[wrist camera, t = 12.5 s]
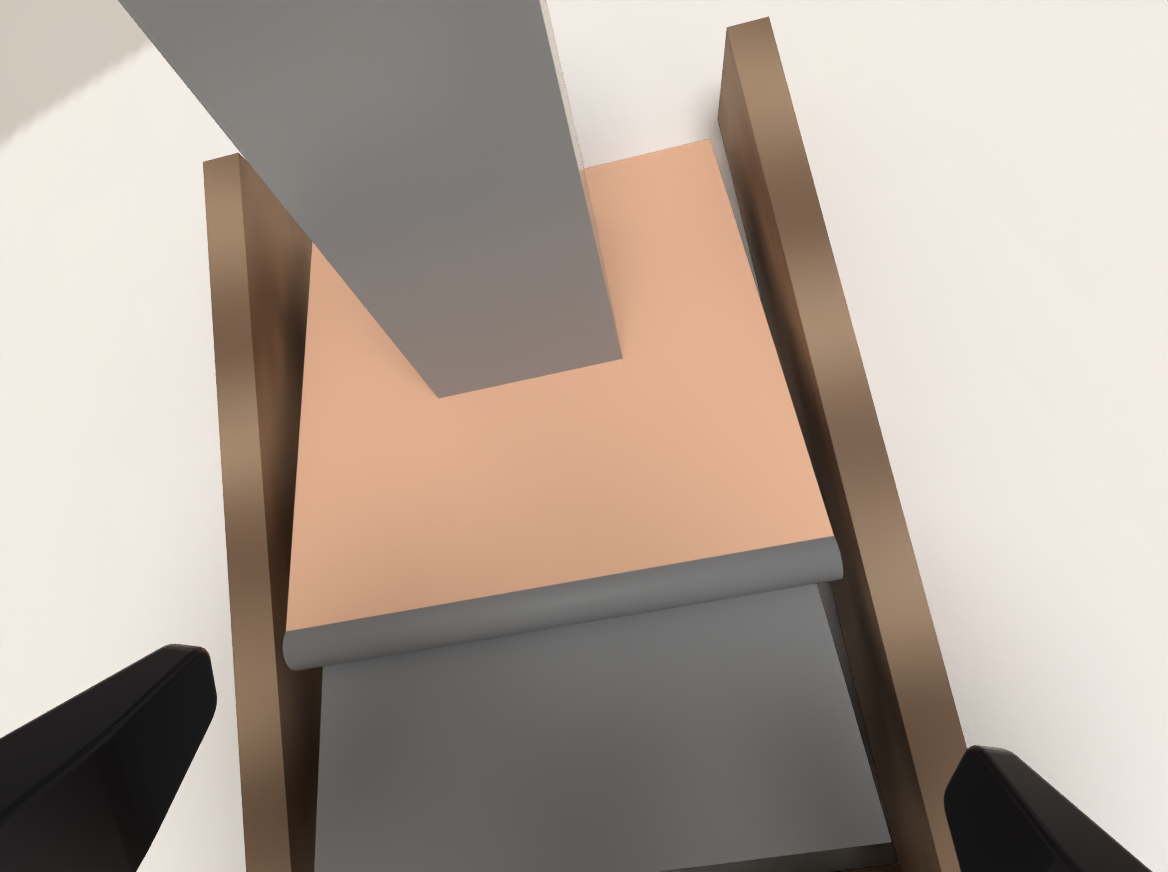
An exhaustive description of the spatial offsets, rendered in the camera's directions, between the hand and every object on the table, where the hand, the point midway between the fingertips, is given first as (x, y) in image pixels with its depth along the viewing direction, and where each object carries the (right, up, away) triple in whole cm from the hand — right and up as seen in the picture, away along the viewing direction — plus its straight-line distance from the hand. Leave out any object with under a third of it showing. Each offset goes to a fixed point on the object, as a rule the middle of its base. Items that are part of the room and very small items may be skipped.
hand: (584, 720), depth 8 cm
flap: (-1, +1, +14) cm, 14 cm away
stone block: (-2, +7, +12) cm, 15 cm away
